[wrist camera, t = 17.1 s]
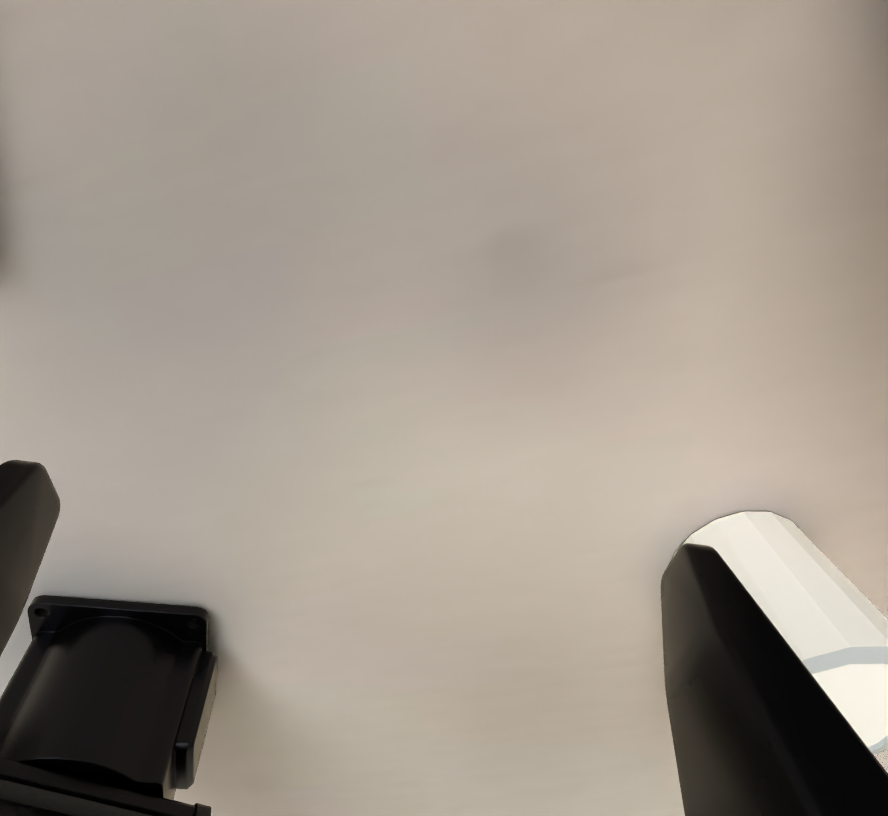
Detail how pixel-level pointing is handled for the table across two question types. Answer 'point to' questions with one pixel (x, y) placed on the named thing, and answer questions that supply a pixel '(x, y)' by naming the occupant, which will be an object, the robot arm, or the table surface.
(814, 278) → the table surface
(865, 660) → the shot glass
